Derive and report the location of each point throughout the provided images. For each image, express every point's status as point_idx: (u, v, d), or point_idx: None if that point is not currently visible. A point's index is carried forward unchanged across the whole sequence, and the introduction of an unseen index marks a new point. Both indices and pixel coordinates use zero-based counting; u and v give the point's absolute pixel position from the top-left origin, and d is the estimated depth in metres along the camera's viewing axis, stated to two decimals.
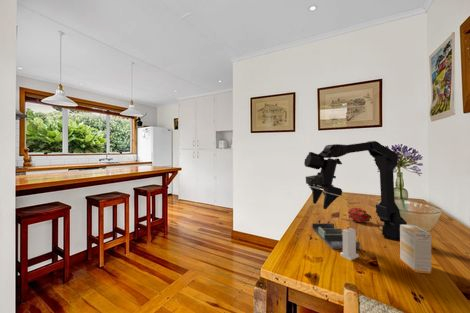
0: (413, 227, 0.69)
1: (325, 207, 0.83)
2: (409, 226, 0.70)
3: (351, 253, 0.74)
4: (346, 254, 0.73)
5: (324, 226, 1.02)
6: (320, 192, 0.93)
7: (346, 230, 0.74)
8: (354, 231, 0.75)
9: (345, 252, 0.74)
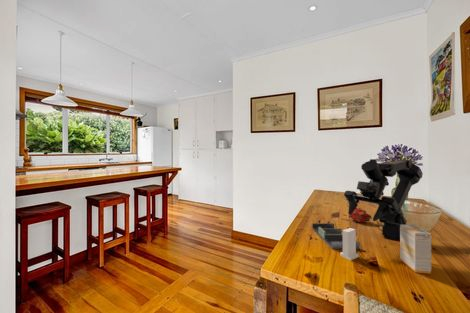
0: (413, 227, 0.69)
1: (375, 219, 0.75)
2: (409, 226, 0.70)
3: (351, 253, 0.74)
4: (346, 254, 0.73)
5: (324, 226, 1.02)
6: (356, 205, 0.86)
7: (346, 230, 0.74)
8: (354, 231, 0.75)
9: (345, 252, 0.74)
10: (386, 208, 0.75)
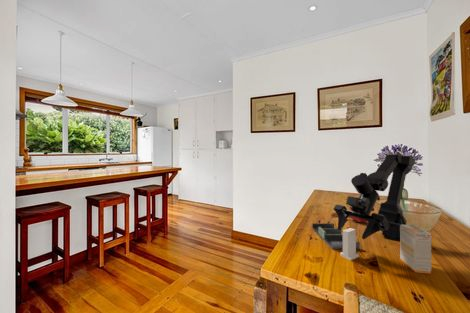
0: (413, 227, 0.69)
1: (364, 237, 0.71)
2: (409, 226, 0.70)
3: (351, 253, 0.74)
4: (346, 254, 0.73)
5: (324, 226, 1.02)
6: (345, 220, 0.82)
7: (346, 230, 0.74)
8: (354, 231, 0.75)
9: (345, 252, 0.74)
10: (376, 225, 0.71)
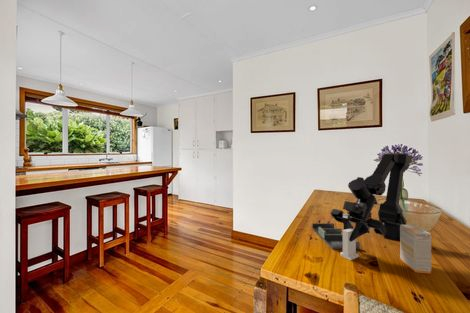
0: (413, 227, 0.69)
1: (352, 239, 0.73)
2: (409, 226, 0.70)
3: (351, 253, 0.74)
4: (346, 254, 0.73)
5: (324, 226, 1.02)
6: None
7: (346, 230, 0.74)
8: None
9: (345, 252, 0.74)
10: (363, 228, 0.74)
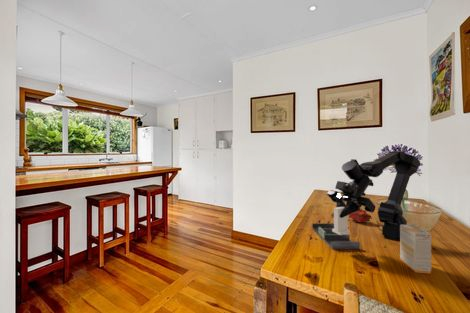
0: (413, 227, 0.69)
1: (342, 216, 0.79)
2: (409, 226, 0.70)
3: (342, 229, 0.79)
4: (337, 229, 0.79)
5: (324, 226, 1.02)
6: (344, 207, 0.83)
7: (337, 207, 0.80)
8: None
9: (336, 228, 0.79)
10: (353, 206, 0.78)
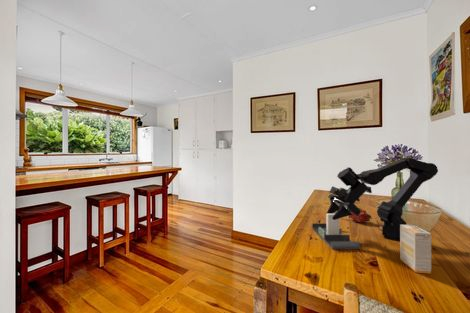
0: (413, 227, 0.69)
1: (334, 218, 0.88)
2: (409, 226, 0.70)
3: (333, 233, 0.90)
4: (327, 232, 0.91)
5: (324, 226, 1.02)
6: (337, 209, 0.95)
7: (329, 214, 0.92)
8: None
9: (327, 231, 0.91)
10: (346, 210, 0.86)
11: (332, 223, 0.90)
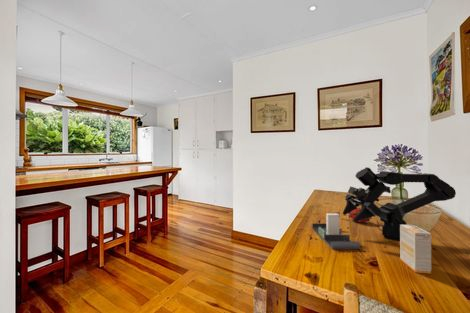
0: (413, 227, 0.69)
1: (356, 219, 0.86)
2: (409, 226, 0.70)
3: (333, 233, 0.90)
4: (327, 232, 0.91)
5: (324, 226, 1.02)
6: (353, 208, 0.96)
7: (329, 214, 0.92)
8: (337, 216, 0.90)
9: (327, 231, 0.91)
10: (368, 211, 0.84)
11: (332, 223, 0.90)
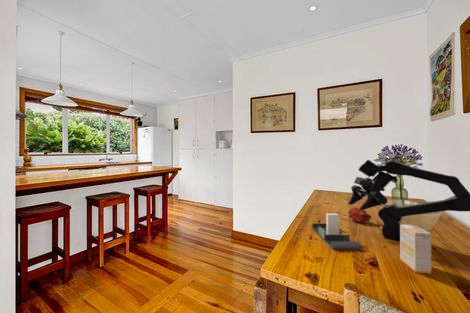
0: (413, 227, 0.69)
1: (362, 208, 0.89)
2: (409, 226, 0.70)
3: (333, 233, 0.90)
4: (327, 232, 0.91)
5: (324, 226, 1.02)
6: (359, 198, 0.98)
7: (329, 214, 0.92)
8: (337, 216, 0.90)
9: (327, 231, 0.91)
10: (374, 200, 0.87)
11: (332, 223, 0.90)
